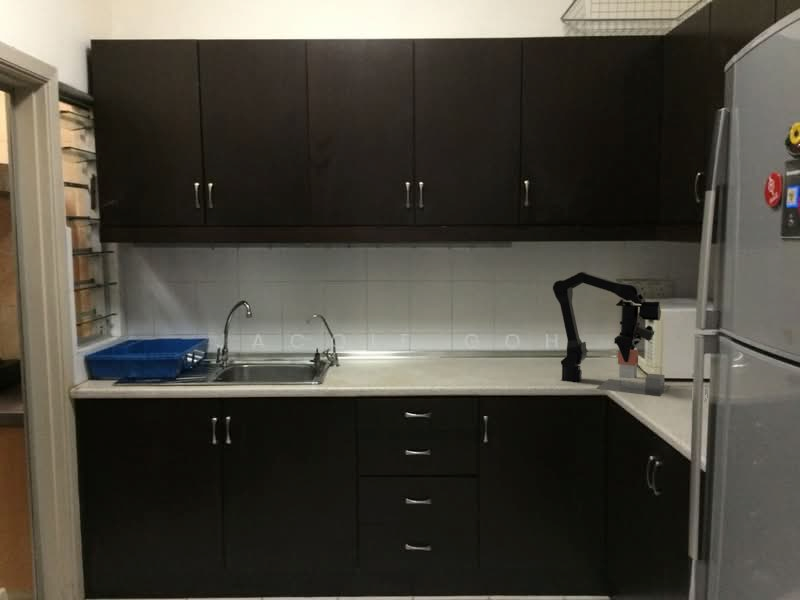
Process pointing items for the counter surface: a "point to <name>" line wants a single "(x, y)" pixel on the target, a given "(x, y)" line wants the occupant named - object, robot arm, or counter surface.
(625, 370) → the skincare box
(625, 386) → the coupler
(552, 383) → the counter surface
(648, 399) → the counter surface
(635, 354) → the block
